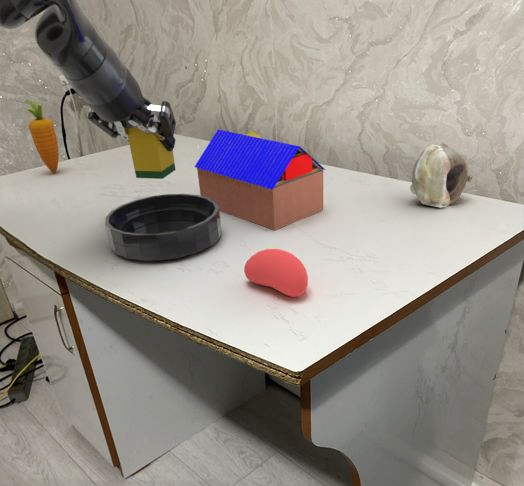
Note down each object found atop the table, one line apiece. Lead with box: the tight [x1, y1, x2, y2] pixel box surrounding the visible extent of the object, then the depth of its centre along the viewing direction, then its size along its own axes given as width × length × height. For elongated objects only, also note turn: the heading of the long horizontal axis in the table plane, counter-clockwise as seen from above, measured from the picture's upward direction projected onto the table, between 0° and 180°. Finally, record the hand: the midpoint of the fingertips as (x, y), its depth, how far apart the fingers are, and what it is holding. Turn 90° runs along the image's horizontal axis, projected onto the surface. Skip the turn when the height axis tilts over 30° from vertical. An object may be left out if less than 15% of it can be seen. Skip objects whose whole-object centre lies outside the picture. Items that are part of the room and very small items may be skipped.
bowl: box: [104, 193, 223, 262], centre depth 83 cm, size 17×17×4 cm
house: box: [194, 129, 326, 231], centre depth 91 cm, size 12×20×12 cm, turn 42°
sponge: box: [128, 124, 176, 180], centre depth 89 cm, size 5×5×8 cm
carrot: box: [26, 99, 60, 173], centre depth 116 cm, size 5×5×15 cm
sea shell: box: [410, 142, 474, 209], centre depth 88 cm, size 9×8×10 cm
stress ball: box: [243, 248, 309, 298], centre depth 68 cm, size 5×9×6 cm, turn 36°
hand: (156, 146), depth 90 cm, fingers closed on sponge, 5 cm apart
